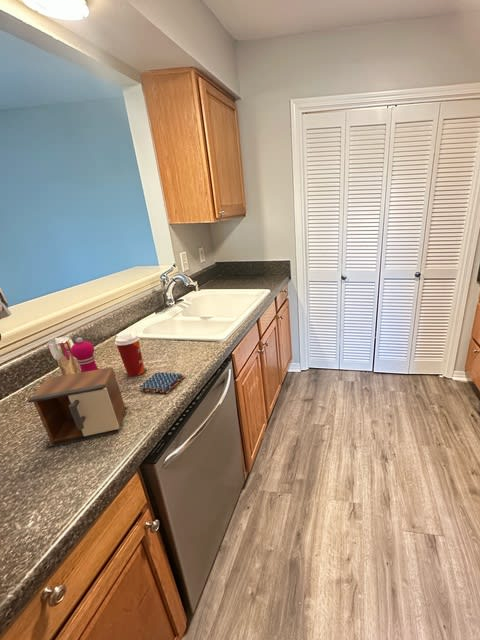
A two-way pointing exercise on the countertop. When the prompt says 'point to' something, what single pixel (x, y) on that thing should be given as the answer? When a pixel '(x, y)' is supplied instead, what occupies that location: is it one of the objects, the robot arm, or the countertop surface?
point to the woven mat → (161, 382)
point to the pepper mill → (84, 355)
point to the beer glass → (64, 355)
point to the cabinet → (56, 403)
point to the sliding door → (93, 412)
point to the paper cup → (130, 353)
